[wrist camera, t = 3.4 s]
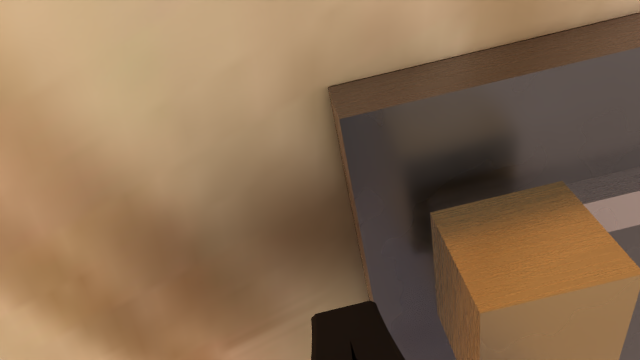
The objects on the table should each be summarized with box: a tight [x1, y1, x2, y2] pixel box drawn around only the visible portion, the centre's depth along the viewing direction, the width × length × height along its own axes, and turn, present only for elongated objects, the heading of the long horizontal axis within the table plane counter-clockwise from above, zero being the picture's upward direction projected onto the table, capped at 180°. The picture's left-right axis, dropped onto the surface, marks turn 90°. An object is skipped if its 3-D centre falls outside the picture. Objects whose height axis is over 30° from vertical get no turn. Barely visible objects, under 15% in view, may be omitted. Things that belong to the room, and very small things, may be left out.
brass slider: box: [430, 181, 640, 360], centre depth 13 cm, size 8×3×3 cm, turn 11°
